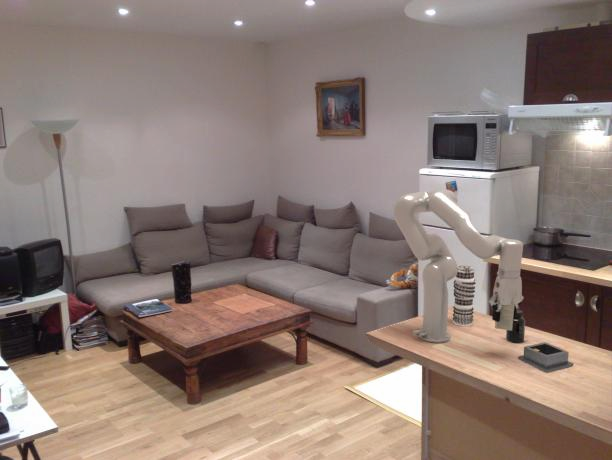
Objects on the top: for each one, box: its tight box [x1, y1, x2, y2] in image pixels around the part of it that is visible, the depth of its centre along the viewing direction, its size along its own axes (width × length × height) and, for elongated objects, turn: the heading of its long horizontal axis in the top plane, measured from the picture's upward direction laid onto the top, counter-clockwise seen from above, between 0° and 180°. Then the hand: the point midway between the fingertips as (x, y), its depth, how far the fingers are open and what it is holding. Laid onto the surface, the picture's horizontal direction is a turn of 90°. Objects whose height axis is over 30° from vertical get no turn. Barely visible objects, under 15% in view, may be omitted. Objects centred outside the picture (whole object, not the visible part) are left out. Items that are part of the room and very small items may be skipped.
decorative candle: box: [452, 265, 477, 327], centre depth 240 cm, size 9×9×25 cm
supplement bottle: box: [505, 309, 526, 344], centre depth 221 cm, size 7×7×12 cm
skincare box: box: [494, 298, 515, 331], centre depth 206 cm, size 6×4×12 cm
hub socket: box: [517, 341, 574, 374], centre depth 200 cm, size 13×13×6 cm
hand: (504, 319), depth 207 cm, fingers closed on skincare box, 7 cm apart
